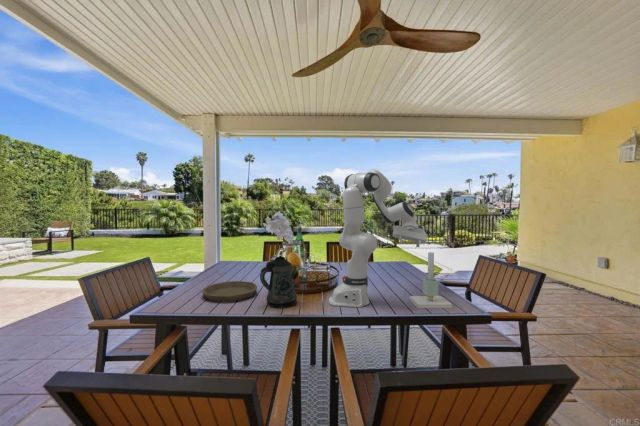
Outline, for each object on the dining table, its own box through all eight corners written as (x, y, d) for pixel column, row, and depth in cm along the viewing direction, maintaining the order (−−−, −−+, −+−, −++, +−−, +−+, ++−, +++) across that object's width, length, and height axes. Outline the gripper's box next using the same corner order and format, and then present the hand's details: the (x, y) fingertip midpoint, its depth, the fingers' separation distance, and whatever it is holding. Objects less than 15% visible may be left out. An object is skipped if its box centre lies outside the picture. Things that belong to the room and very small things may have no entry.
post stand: (418, 308, 156) (419, 255, 155) (409, 299, 170) (410, 250, 169) (452, 308, 156) (453, 255, 155) (440, 299, 170) (441, 250, 169)
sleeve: (426, 295, 160) (427, 281, 159) (422, 292, 166) (422, 278, 166) (438, 295, 160) (438, 281, 160) (433, 292, 166) (433, 278, 166)
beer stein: (302, 301, 165) (303, 256, 164) (280, 312, 148) (281, 262, 148) (279, 296, 174) (279, 253, 173) (256, 306, 157) (256, 259, 156)
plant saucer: (190, 301, 165) (190, 292, 165) (221, 286, 195) (221, 279, 195) (241, 306, 158) (241, 297, 157) (265, 289, 188) (265, 282, 188)
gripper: (394, 221, 184) (394, 237, 174) (427, 228, 183) (428, 245, 173) (391, 227, 189) (391, 244, 179) (423, 234, 188) (424, 251, 178)
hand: (410, 244), depth 176 cm, fingers open, 8 cm apart
